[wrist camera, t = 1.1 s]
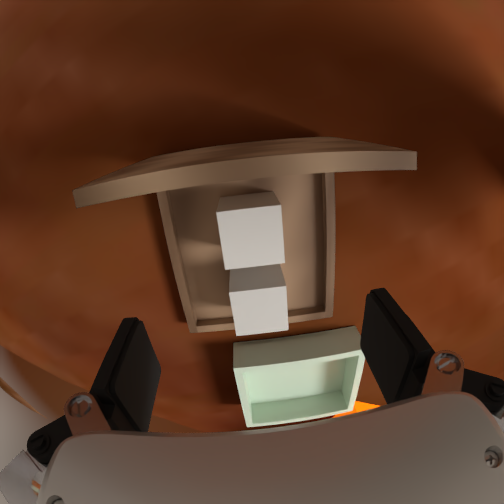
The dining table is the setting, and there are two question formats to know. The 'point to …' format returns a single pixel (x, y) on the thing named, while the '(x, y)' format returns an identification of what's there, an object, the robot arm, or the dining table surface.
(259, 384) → the sage bin
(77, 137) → the dining table surface
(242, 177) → the brown hollow box
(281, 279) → the stone cube
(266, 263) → the stone cube
